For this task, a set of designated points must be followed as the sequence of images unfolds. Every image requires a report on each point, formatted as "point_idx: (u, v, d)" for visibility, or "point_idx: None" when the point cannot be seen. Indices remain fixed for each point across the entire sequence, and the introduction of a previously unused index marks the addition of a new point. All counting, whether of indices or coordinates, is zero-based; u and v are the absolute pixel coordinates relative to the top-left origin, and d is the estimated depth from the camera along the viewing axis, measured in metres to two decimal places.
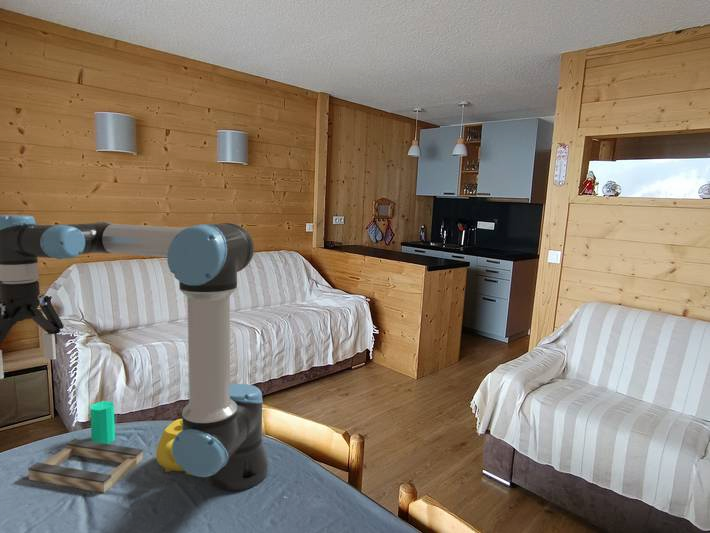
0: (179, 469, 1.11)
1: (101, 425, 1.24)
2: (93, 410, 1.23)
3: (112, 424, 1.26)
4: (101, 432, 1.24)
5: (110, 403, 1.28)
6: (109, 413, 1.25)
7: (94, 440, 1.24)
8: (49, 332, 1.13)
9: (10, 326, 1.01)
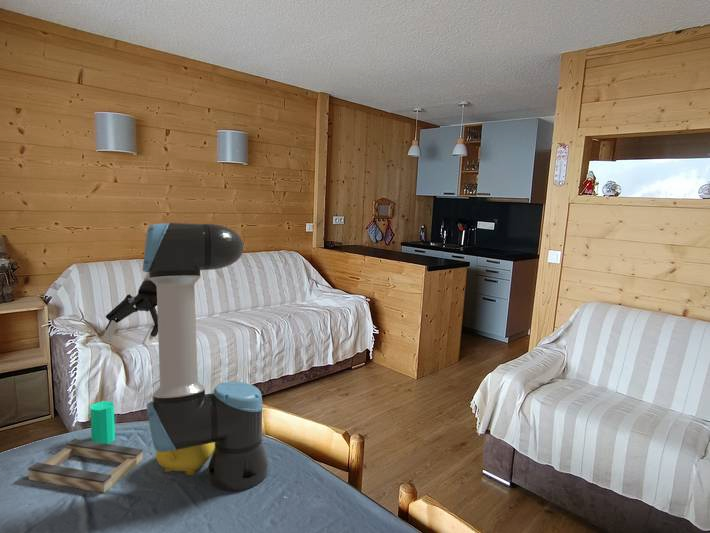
0: (179, 469, 1.11)
1: (101, 425, 1.24)
2: (93, 410, 1.23)
3: (112, 424, 1.26)
4: (101, 432, 1.24)
5: (110, 403, 1.28)
6: (109, 413, 1.25)
7: (94, 440, 1.24)
8: None
9: (128, 308, 1.40)
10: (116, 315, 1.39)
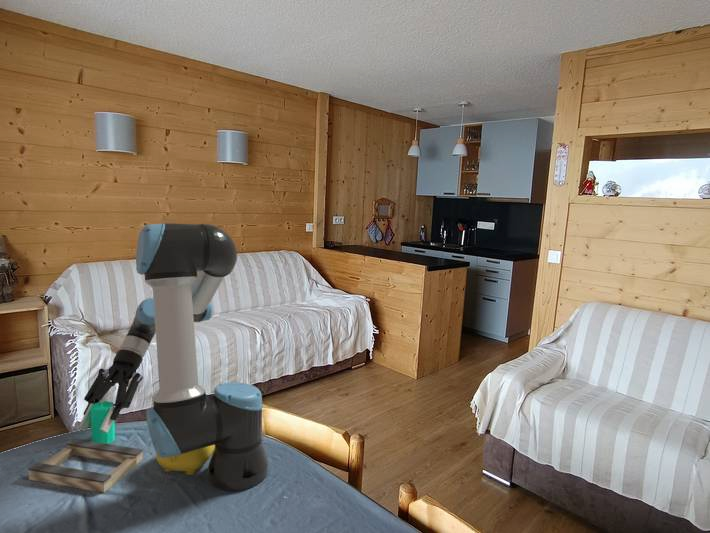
0: (179, 469, 1.11)
1: (101, 425, 1.24)
2: (93, 410, 1.23)
3: (112, 424, 1.26)
4: (102, 432, 1.24)
5: (110, 403, 1.28)
6: None
7: (94, 440, 1.24)
8: None
9: (105, 384, 1.30)
10: (94, 396, 1.28)
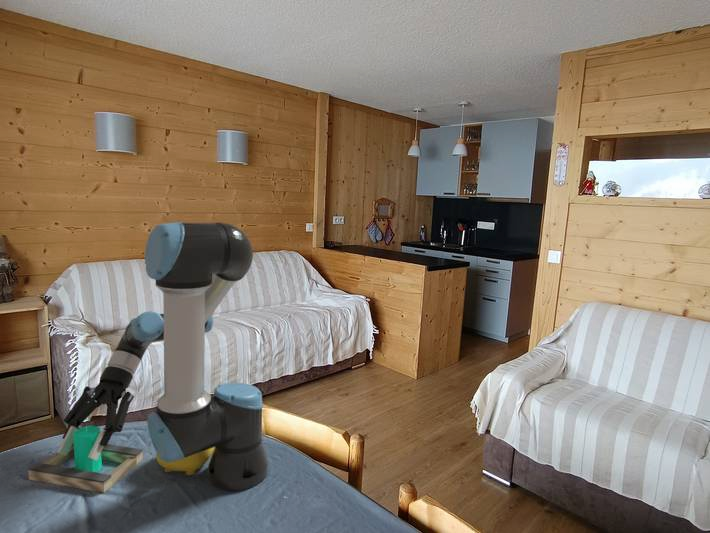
0: (179, 469, 1.11)
1: (85, 453, 1.10)
2: (76, 437, 1.09)
3: None
4: (86, 461, 1.10)
5: (96, 428, 1.14)
6: (94, 440, 1.11)
7: None
8: None
9: (89, 405, 1.16)
10: (76, 417, 1.14)
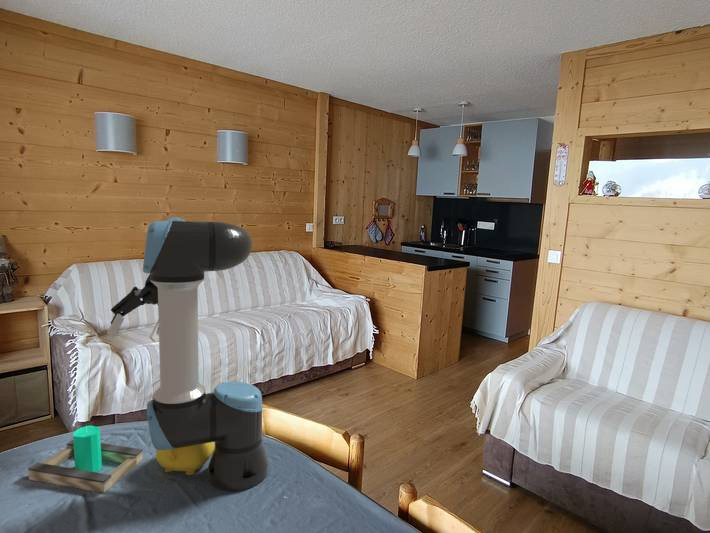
0: (179, 469, 1.11)
1: (85, 453, 1.10)
2: (76, 437, 1.09)
3: (98, 452, 1.12)
4: (86, 461, 1.10)
5: (96, 428, 1.14)
6: (94, 440, 1.11)
7: None
8: None
9: (135, 301, 1.33)
10: (122, 308, 1.31)
